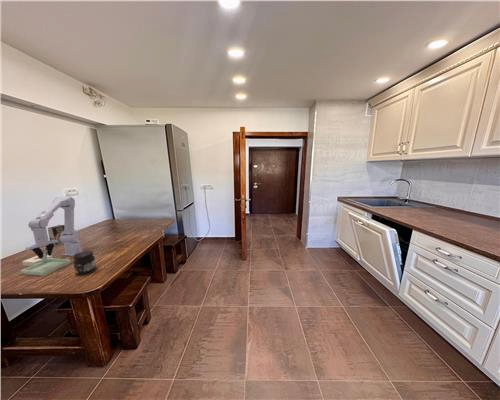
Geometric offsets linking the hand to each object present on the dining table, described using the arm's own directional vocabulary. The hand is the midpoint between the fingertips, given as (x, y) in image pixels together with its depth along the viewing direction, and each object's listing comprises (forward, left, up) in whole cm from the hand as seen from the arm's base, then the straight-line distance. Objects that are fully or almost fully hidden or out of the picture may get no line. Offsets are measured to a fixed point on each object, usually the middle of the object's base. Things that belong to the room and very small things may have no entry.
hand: (45, 256), depth 120 cm
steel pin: (+1, 0, -4) cm, 4 cm away
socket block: (+16, -6, -8) cm, 19 cm away
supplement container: (-29, 0, -8) cm, 30 cm away
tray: (0, 0, -8) cm, 8 cm away
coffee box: (+37, -35, -8) cm, 52 cm away
